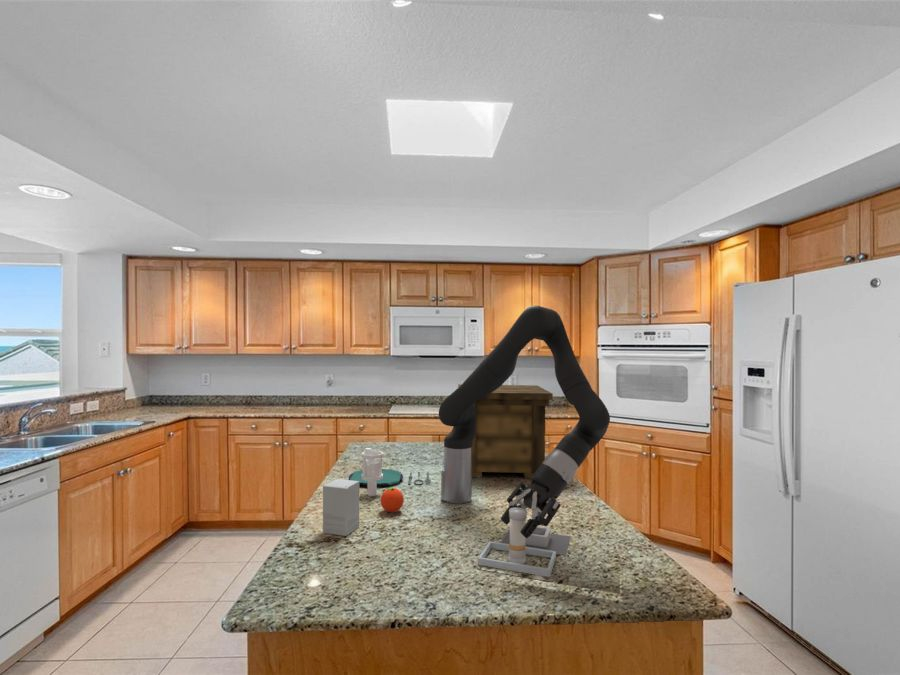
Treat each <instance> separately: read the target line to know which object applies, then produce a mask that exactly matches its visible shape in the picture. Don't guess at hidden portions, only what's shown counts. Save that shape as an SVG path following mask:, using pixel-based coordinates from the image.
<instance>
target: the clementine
mask: <svg viewBox="0 0 900 675" xmlns="http://www.w3.org/2000/svg"><path fill="white" fill-rule="evenodd" d="M382 491H383V492H382V494H381V496H380V505H381V507H382V509H383V510H384V511H386V512H387V513H396V512H398V511H400V509H401V508H403V505H404V502H405V499H404V495H403V493H402V491H400V490H399V489H398V488H395V487H387V488H384V489H383V490H382Z"/></svg>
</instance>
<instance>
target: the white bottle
mask: <svg viewBox="0 0 900 675" xmlns="http://www.w3.org/2000/svg"><path fill="white" fill-rule="evenodd" d="M527 513H528V512H527V509H524V508H519V507H514V508H510V509H509V518H510V522H509V528H510V542H509V551H508V552H509V554H508V558H507V560H508V562H511V563H518V564H524V565H525V563H527V554H525V549H526V543H525V537H524V536H523V535H522V534H521V533H520V531H521V529H522V528H523V527H524V525H525V524H526V523H527V522H526V520H527V518H528V517H527V516H528V515H527Z"/></svg>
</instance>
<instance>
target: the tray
mask: <svg viewBox="0 0 900 675" xmlns="http://www.w3.org/2000/svg"><path fill="white" fill-rule="evenodd" d="M491 549H492V550H497V551H503V552H504V551H505V552H509V544H504V543H501V542H497V541H488V542H487V544H486V545H485V547H484V549H483V550H482V551H481V553H480V555H479V556H478V557H477V565H479V566H483V567H490V568H496V569H500V570H508V571H513V572H519V573H525V574H530V575H536V576H542V577H547V578H548V577H549V578H550V577H551V575H552V572H553V568H554V565H555V562H556V559H557V554H556V551H550V550H543V549H537V548H530V547H526V549H525V555H529V556H535V557H540V558H541V557H542V558H549V563H548V566H547V567H542V566H541V567H540V566H534V565H529V564H525V563H524V564H518V563H511V562H509V561H504V560H498V559H493V558H487V556H488V554H489V552H490V551H491ZM477 571H482V572H488V573H494V574H499V575H504V576H505V575H506V576H512V577H516V578H518V577H519V578H522V579H529V580H532V581H533V580H534V581H539V582H545V583H551V581H549V580H543V579H538V578H530V577H526V576H520V575H514V574H509V573H503V572H499V571H498V572H497V571H493V570H492V571H491V570H485V569H481V568H480V569H479V568H478V569H477Z"/></svg>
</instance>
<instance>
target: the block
mask: <svg viewBox="0 0 900 675" xmlns="http://www.w3.org/2000/svg"><path fill="white" fill-rule="evenodd" d="M551 531H552V530H551V527H547V526H541V525H540V526H537V528H536V529H535V530H534V532H533V533H532V534H531V536H529V537H528V538H525V543H526V547H530V548H537V549H543V550H550V551H556V555H561V556H566V555H567V552H568V548H569V545H570V541H571V538H572V537H571V536H570V535H564V534H557V533H556V534H555V533H552V532H551ZM509 542H510V527H509V528H508V530H507V531H506V533H505V535H504V536H503V538H502V540H501V541H500V543H504V544H509Z"/></svg>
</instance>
